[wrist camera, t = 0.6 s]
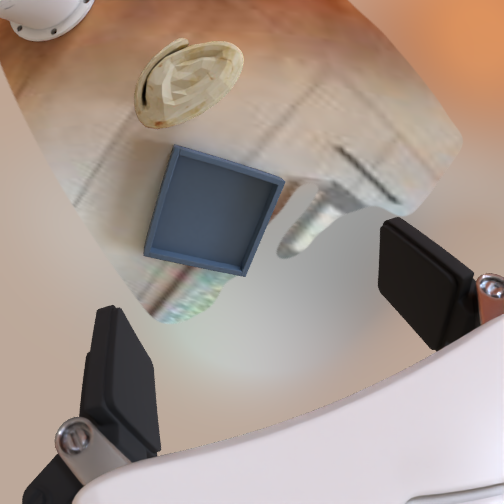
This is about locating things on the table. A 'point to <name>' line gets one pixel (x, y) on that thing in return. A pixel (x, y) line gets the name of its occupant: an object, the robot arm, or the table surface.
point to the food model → (185, 81)
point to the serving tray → (211, 212)
